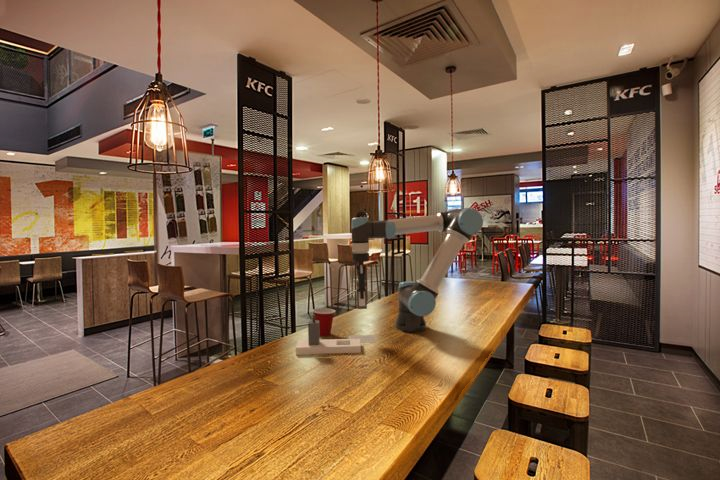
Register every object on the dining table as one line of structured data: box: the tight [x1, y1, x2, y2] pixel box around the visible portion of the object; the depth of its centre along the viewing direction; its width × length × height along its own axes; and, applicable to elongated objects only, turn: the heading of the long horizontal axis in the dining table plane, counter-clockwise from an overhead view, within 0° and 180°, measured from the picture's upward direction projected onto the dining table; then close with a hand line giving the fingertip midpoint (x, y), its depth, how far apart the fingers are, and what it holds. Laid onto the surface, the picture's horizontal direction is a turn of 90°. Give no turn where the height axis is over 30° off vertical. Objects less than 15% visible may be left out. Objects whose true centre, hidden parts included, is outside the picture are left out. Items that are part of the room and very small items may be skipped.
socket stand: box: [295, 313, 362, 356], centre depth 150 cm, size 26×9×15 cm, turn 92°
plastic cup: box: [312, 307, 337, 337], centre depth 170 cm, size 11×11×12 cm
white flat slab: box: [347, 334, 376, 344], centre depth 163 cm, size 12×10×1 cm
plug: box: [355, 279, 368, 310], centre depth 162 cm, size 4×4×12 cm
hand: (361, 304), depth 162 cm, fingers closed on plug, 4 cm apart
